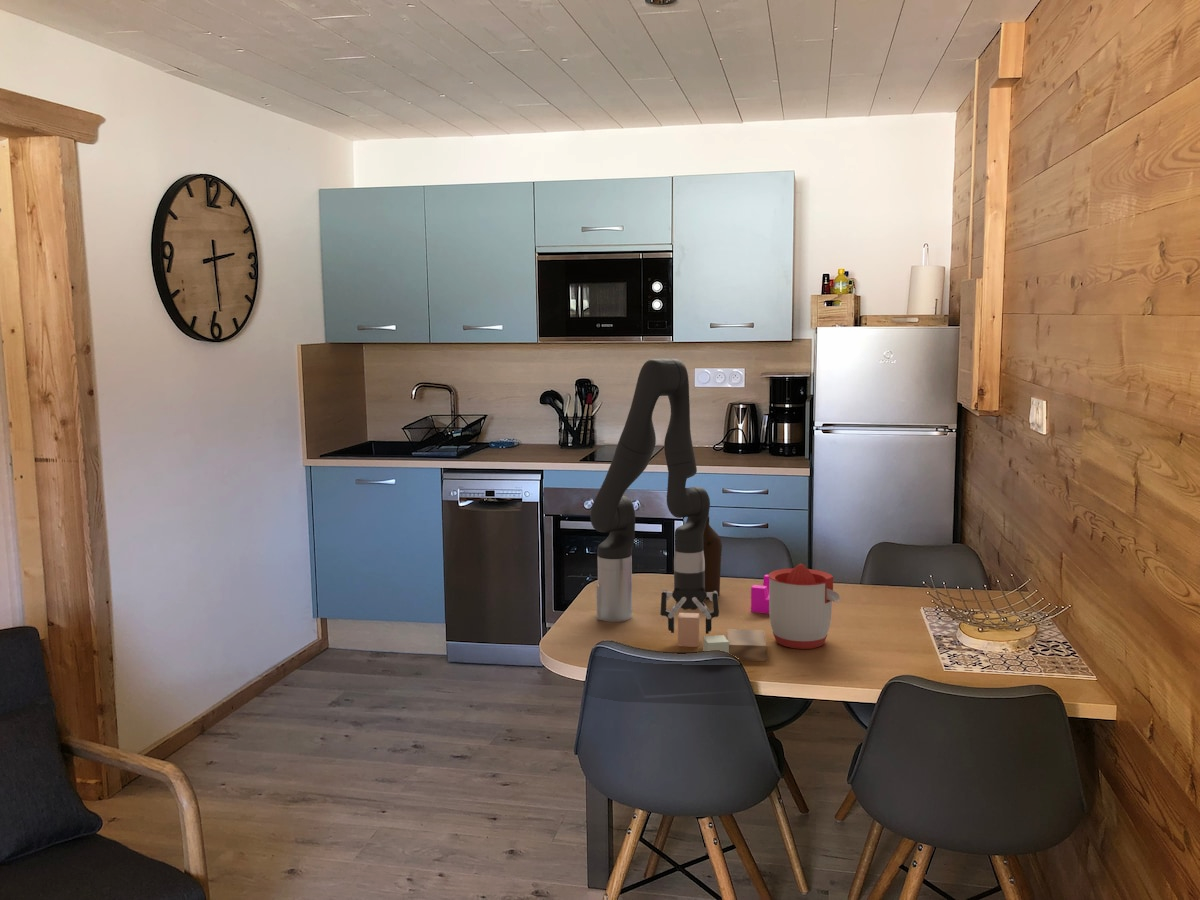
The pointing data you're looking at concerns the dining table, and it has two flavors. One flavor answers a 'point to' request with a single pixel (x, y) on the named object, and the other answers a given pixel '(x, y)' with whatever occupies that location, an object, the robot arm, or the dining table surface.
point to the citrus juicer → (801, 606)
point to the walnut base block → (747, 644)
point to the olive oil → (712, 559)
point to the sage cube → (715, 643)
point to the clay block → (688, 629)
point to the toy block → (760, 597)
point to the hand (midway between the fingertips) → (690, 632)
